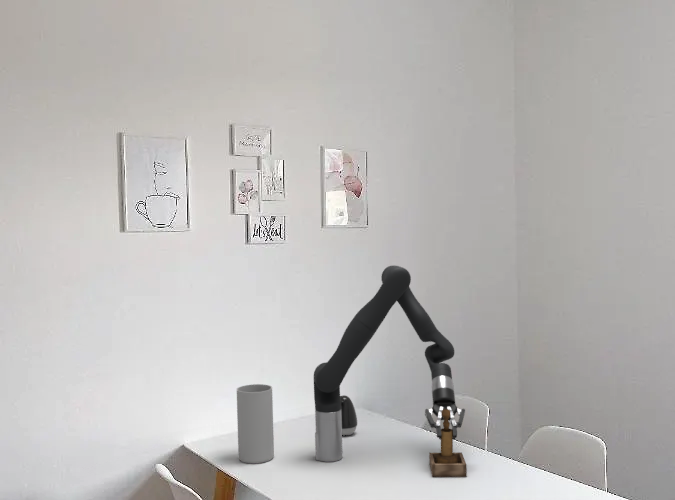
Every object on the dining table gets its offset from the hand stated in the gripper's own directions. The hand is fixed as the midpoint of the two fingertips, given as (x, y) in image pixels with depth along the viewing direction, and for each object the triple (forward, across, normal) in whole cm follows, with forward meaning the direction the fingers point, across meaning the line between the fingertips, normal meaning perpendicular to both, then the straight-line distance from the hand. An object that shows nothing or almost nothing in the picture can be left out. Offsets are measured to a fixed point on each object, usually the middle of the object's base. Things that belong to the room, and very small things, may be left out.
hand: (447, 437), depth 225 cm
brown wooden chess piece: (+5, 0, +8) cm, 9 cm away
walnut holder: (+7, 0, +9) cm, 12 cm away
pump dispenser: (-22, -36, +39) cm, 57 cm away
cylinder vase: (-2, -66, +19) cm, 69 cm away
